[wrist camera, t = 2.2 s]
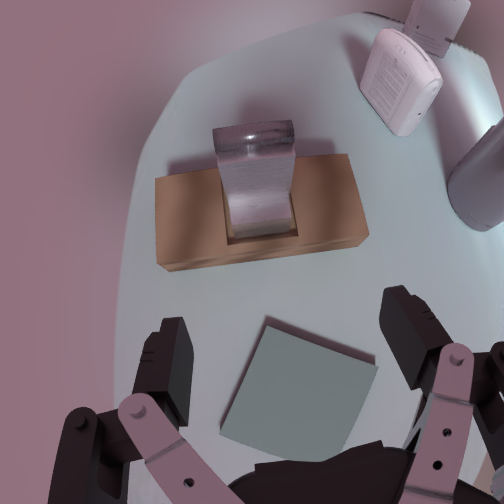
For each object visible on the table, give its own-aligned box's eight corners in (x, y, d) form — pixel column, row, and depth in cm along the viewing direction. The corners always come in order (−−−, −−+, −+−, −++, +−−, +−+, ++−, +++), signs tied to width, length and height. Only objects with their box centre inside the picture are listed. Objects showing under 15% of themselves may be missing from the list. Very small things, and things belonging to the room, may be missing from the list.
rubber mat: (266, 325, 30) (267, 325, 29) (375, 365, 28) (378, 366, 27) (220, 431, 27) (218, 434, 26) (328, 467, 26) (329, 471, 25)
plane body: (169, 272, 32) (156, 263, 28) (166, 194, 34) (155, 178, 30) (357, 246, 32) (369, 234, 28) (339, 172, 34) (347, 153, 30)
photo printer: (417, 134, 36) (455, 74, 24) (395, 141, 35) (431, 76, 23) (376, 82, 38) (399, 19, 26) (354, 87, 38) (373, 20, 26)
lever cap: (235, 239, 29) (216, 174, 17) (229, 183, 31) (210, 100, 19) (288, 232, 29) (302, 163, 17) (278, 177, 31) (283, 91, 19)
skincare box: (405, 44, 41) (427, -17, 27) (401, 29, 43) (420, -28, 28) (445, 59, 40) (472, 3, 26) (439, 43, 42) (463, -10, 28)
